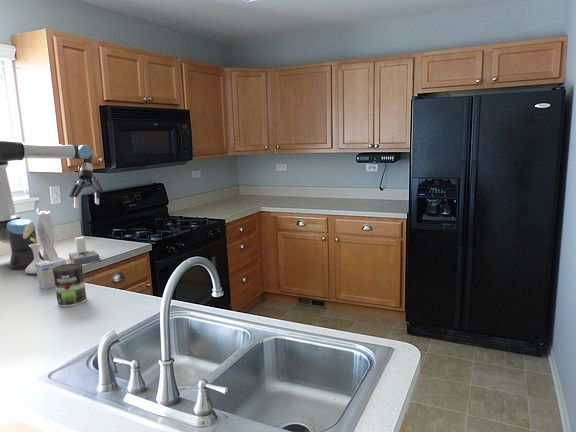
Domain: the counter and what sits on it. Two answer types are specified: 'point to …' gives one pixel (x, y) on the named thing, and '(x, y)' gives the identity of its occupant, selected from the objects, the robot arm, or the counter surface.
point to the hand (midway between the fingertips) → (86, 206)
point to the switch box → (84, 257)
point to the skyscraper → (46, 235)
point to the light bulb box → (48, 272)
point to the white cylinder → (80, 244)
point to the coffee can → (69, 284)
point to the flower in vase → (35, 248)
